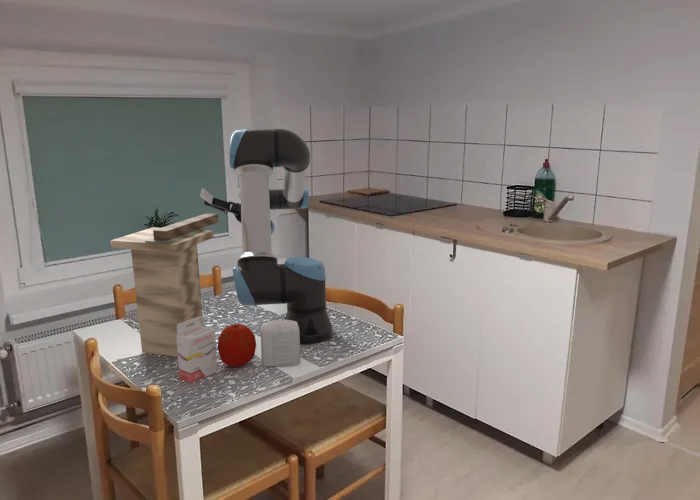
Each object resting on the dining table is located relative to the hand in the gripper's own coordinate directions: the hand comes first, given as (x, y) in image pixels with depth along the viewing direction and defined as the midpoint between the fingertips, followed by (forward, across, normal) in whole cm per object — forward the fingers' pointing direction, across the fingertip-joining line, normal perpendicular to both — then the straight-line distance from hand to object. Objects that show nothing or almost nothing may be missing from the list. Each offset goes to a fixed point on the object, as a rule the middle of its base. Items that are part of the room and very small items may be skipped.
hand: (220, 192), depth 178 cm
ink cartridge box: (+16, -15, -57) cm, 61 cm away
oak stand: (+5, +2, -50) cm, 50 cm away
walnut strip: (+16, -2, -18) cm, 24 cm away
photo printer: (+6, -33, -51) cm, 61 cm away
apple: (+9, -21, -52) cm, 57 cm away
